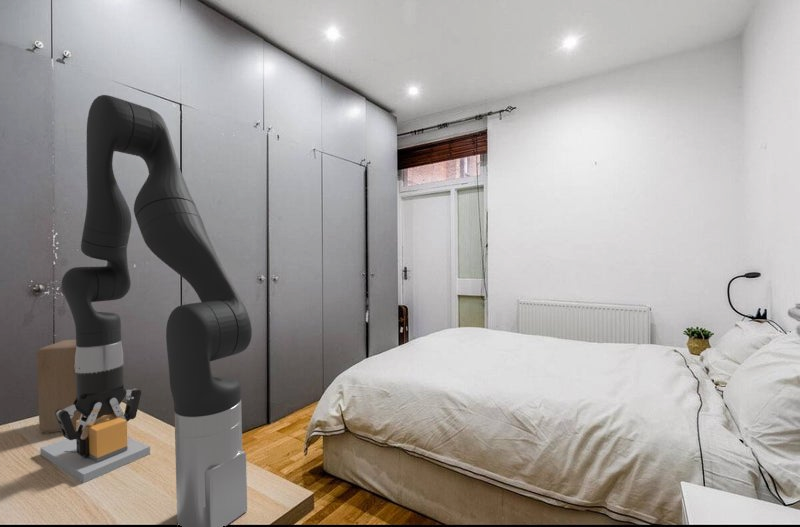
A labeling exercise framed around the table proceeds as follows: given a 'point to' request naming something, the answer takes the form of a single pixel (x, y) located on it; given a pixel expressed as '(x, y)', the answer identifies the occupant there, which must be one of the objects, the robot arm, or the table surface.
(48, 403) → the block
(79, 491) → the table surface
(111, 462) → the board
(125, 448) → the block
